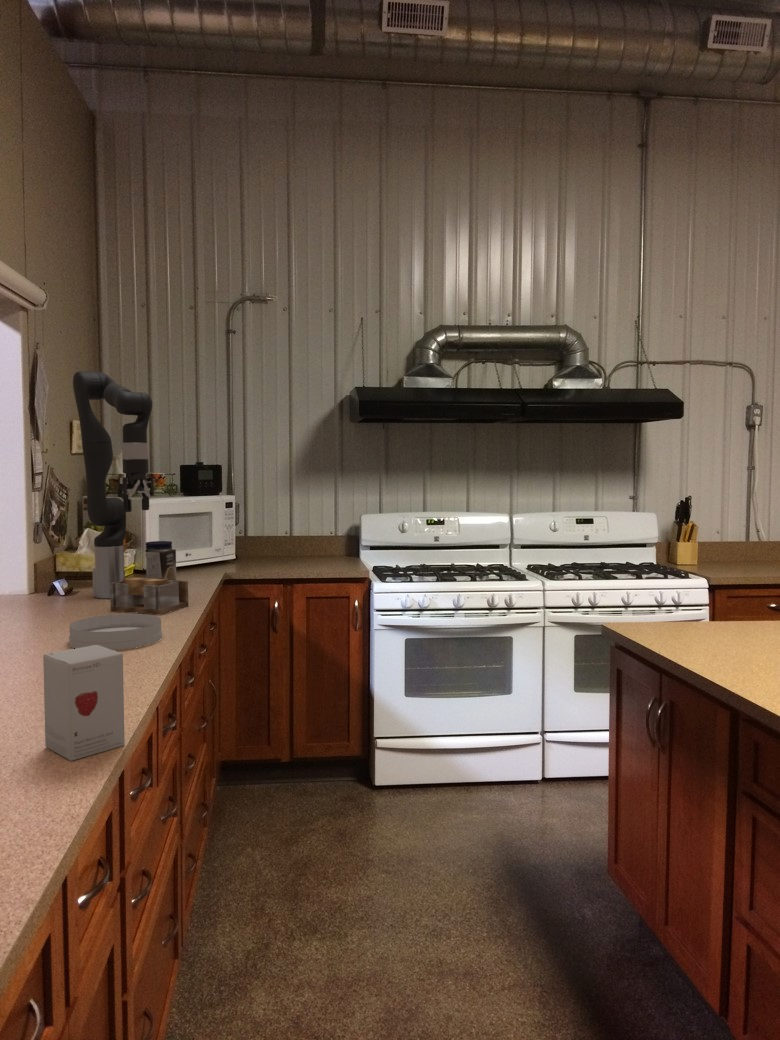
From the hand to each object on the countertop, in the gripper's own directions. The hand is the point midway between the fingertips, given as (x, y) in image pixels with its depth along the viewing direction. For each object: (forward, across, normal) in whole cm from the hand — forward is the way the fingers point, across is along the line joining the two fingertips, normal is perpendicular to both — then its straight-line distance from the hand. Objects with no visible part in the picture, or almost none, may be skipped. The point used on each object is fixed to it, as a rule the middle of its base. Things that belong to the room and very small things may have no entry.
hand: (136, 511), depth 228 cm
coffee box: (+30, -16, -3) cm, 34 cm away
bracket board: (+30, 0, +4) cm, 30 cm away
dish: (+31, +38, +22) cm, 53 cm away
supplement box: (+30, +98, +64) cm, 121 cm away
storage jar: (+30, -47, -26) cm, 62 cm away
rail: (+25, +2, +4) cm, 26 cm away
